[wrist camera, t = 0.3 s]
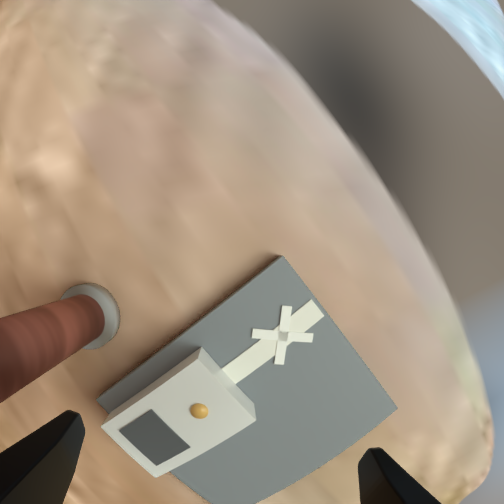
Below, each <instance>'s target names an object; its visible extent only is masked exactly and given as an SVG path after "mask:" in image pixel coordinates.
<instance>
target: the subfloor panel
mask: <svg viewBox="0 0 504 504" xmlns="http://www.w3.org/2000/svg"><path fill="white" fill-rule="evenodd" d="M201 347H203V349H204V350H205V351H206V352H207V353H208V354H209V355H210V357H211V358H212V359H213V360H214V361H215V362H216V363H217V364H218V366H219V367H220V368H221V369H222V370H223V371H224V372H225V373H226V374H227V375H228V377H229V378H230V379H231V380H232V381H233V382H234V383H235V384H236V385H237V386H238V387H239V388H240V389H241V391H242V392H243V393H244V394H245V395H246V396H247V397H248V398H249V399H250V400H251V401H252V402H253V403H254V407H255V414H256V421H255V422H253V423H252V424H250V425H249V426H247V427H246V428H244V429H242V430H241V431H239V432H238V433H236V434H234V435H233V436H231V437H230V438H228V439H226V440H225V441H223V442H221V443H220V444H218V445H216V446H215V447H213V448H211V449H209V450H208V451H206V452H204V453H202V454H201V455H199V456H197V457H195V458H193V459H192V460H190V461H188V462H186V463H184V464H182V465H180V466H178V467H176V468H175V469H173V470H171V471H169V472H171V473H172V474H173V475H174V476H176V477H177V478H178V479H179V480H181V481H182V482H183V483H184V484H186V485H187V486H188V487H190V488H191V489H192V490H193V491H195V492H196V493H197V494H199V495H200V496H202V497H203V498H204V499H206V500H207V501H209V502H210V503H211V504H255V503H257V502H259V501H261V500H263V499H265V498H267V497H269V496H271V495H273V494H275V493H277V492H279V491H280V490H282V489H284V488H286V487H288V486H289V485H291V484H293V483H295V482H296V481H298V480H300V479H301V478H303V477H305V476H306V475H308V474H310V473H311V472H313V471H314V470H316V469H318V468H319V467H321V466H322V465H324V464H325V463H327V462H328V461H330V460H331V459H333V458H334V457H336V456H337V455H339V454H340V453H341V452H343V451H344V450H346V449H347V448H348V447H350V446H351V445H353V444H354V443H355V442H357V441H358V440H359V439H361V438H362V437H363V436H365V435H366V434H367V433H368V432H370V431H371V430H372V429H373V428H375V427H376V426H377V425H378V424H380V423H381V422H382V421H383V420H385V419H386V418H387V417H388V416H389V415H391V414H392V413H393V412H394V411H395V410H396V409H397V406H396V405H395V403H394V402H393V401H392V399H391V398H390V397H389V395H388V394H387V392H386V391H385V390H384V388H383V387H382V386H381V384H380V383H379V382H378V380H377V379H376V377H375V376H374V375H373V373H372V372H371V371H370V369H369V368H368V367H367V365H366V364H365V363H364V361H363V360H362V359H361V357H360V356H359V355H358V353H357V352H356V351H355V349H354V348H353V347H352V345H351V344H350V343H349V341H348V340H347V339H346V337H345V336H344V335H343V333H342V332H341V331H340V329H339V328H338V327H337V325H336V324H335V323H334V321H333V320H332V319H331V317H330V316H329V315H328V313H327V312H326V311H325V309H324V308H323V307H322V306H321V304H320V303H319V302H318V300H317V299H316V298H315V296H314V295H313V294H312V292H311V291H310V290H309V289H308V287H307V286H306V285H305V283H304V282H303V281H302V279H301V278H300V277H299V276H298V274H297V273H296V272H295V270H294V269H293V268H292V267H291V265H290V264H289V263H288V261H287V260H286V259H285V258H284V256H282V255H280V256H279V257H278V258H277V259H275V260H274V261H273V262H272V263H270V264H269V265H268V266H267V267H265V268H264V269H263V270H262V271H260V272H259V273H258V274H257V275H255V276H254V277H253V278H252V279H250V280H249V281H248V282H246V283H245V284H244V285H243V286H241V287H240V288H239V289H238V290H236V291H235V292H234V293H233V294H231V295H230V296H229V297H227V298H226V299H225V300H224V301H222V302H221V303H220V304H219V305H217V306H216V307H215V308H213V309H212V310H211V311H210V312H208V313H207V314H206V315H204V316H203V317H202V318H201V319H199V320H198V321H197V322H195V323H194V324H193V325H192V326H190V327H189V328H188V329H186V330H185V331H184V332H183V333H181V334H180V335H179V336H177V337H176V338H175V339H173V340H172V341H171V342H170V343H168V344H167V345H166V346H164V347H163V348H162V349H160V350H159V351H158V352H156V353H155V354H154V355H153V356H151V357H150V358H149V359H147V360H146V361H145V362H143V363H142V364H141V365H139V366H138V367H137V368H135V369H134V370H133V371H131V372H130V373H129V374H127V375H126V376H125V377H123V378H122V379H121V380H119V381H118V382H117V383H115V384H114V385H113V386H111V387H110V388H109V389H107V390H106V391H105V392H103V393H102V394H101V395H100V396H99V397H98V398H97V399H96V400H97V402H98V403H99V404H100V405H101V406H102V407H103V408H104V409H105V410H106V412H107V413H108V414H110V413H111V411H113V410H114V409H116V408H117V407H119V406H120V405H122V404H123V403H124V402H126V401H127V400H129V399H130V398H132V397H133V396H134V395H136V394H137V393H139V392H140V391H142V390H143V389H144V388H146V387H147V386H149V385H150V384H151V383H153V382H154V381H156V380H157V379H158V378H160V377H161V376H162V375H164V374H165V373H167V372H168V371H169V370H171V369H172V368H173V367H175V366H176V365H178V364H179V363H180V362H182V361H183V360H184V359H186V358H187V357H188V356H190V355H191V354H192V353H194V352H195V351H197V350H198V349H199V348H201Z"/></svg>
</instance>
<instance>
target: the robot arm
mask: <svg viewBox="0 0 504 504" xmlns="http://www.w3.org/2000/svg"><path fill="white" fill-rule="evenodd" d="M84 436H85V428H84V424H83V421H82V418H81V415H80V414H79V413H77V412H74V411H71V410H67V411H65V412H63V413H62V414H60V415H59V416H57V417H56V418H54V419H53V420H51V421H50V422H48V423H47V424H45V425H43V426H42V427H40V428H39V429H37V430H36V431H34V432H33V433H31V434H30V435H28V436H26V437H25V438H23V439H22V440H20V441H19V442H17V443H15V444H14V445H12V446H11V447H9V448H7V449H6V450H4V451H3V452H1V453H0V504H63V501H64V498H65V496H66V493H67V490H68V488H69V485H70V483H71V480H72V478H73V475H74V472H75V469H76V465H77V461H78V458H79V454H80V450H81V447H82V443H83V439H84ZM358 475H359V489H360V502H361V504H441V503H440V502H439V501H438V500H437V499H436V498H435V497H433V496H432V495H431V494H430V493H429V492H428V491H427V490H426V489H425V488H423V487H422V486H421V485H420V484H419V483H418V482H417V481H416V480H415V479H414V478H413V477H412V476H410V475H409V474H408V473H407V472H406V471H405V470H404V469H403V468H402V467H401V466H400V465H399V464H398V463H397V462H396V461H394V460H393V459H392V458H391V457H390V456H389V455H388V454H387V453H386V452H385V451H384V450H383V449H382V448H380V447H377V448H369V449H368V450H367V451H366V452H365V454H364V455H363V457H362V458H361V460H360V461H359V463H358Z"/></svg>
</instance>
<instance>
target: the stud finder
mask: <svg viewBox="0 0 504 504" xmlns="http://www.w3.org/2000/svg"><path fill="white" fill-rule="evenodd" d="M255 421H256V414H255V407H254V403H253V402H252V401H251V400H250V399H249V398H248V397H247V396H246V395H245V394H244V393H243V392H242V391H241V389H240V388H239V387H238V386H237V385H236V384H235V383H234V382H233V381H232V380H231V379H230V378H229V377H228V375H227V374H226V373H225V372H224V371H223V370H222V369H221V368H220V367H219V366H218V364H217V363H216V362H215V361H214V360H213V359H212V358H211V357H210V355H209V354H208V353H207V352H206V351H205V350H204V349H203V347H201V348H199V349H198V350H197V351H195V352H194V353H192V354H191V355H190V356H188V357H187V358H186V359H184V360H183V361H182V362H180V363H179V364H178V365H176V366H175V367H173V368H172V369H171V370H169V371H168V372H167V373H165V374H164V375H162V376H161V377H160V378H158V379H157V380H156V381H154V382H153V383H151V384H150V385H149V386H147V387H146V388H144V389H143V390H142V391H140V392H139V393H137V394H136V395H134V396H133V397H132V398H130V399H129V400H127V401H126V402H124V403H123V404H122V405H120V406H119V407H117V408H116V409H114V410H113V411H111V413H110V414H109V415H108V417H107V418H106V420H105V421H104V422H103V424H102V425H101V426H100V427H101V428H102V429H103V430H104V431H105V432H106V433H107V434H108V435H109V436H110V437H111V438H112V439H113V440H114V441H115V442H116V443H117V444H118V445H119V446H120V447H121V448H122V449H123V450H125V451H126V452H127V453H128V454H129V455H130V456H131V457H132V458H133V459H134V460H135V461H137V462H138V463H139V464H140V465H141V466H142V467H143V468H144V469H146V470H147V471H148V472H149V473H150V474H152V475H153V476H154V477H155V478H157V477H159V476H161V475H163V474H165V473H167V472H169V471H171V470H173V469H175V468H176V467H178V466H180V465H182V464H184V463H186V462H188V461H190V460H192V459H193V458H195V457H197V456H199V455H201V454H202V453H204V452H206V451H208V450H209V449H211V448H213V447H215V446H216V445H218V444H220V443H221V442H223V441H225V440H226V439H228V438H230V437H231V436H233V435H234V434H236V433H238V432H239V431H241V430H242V429H244V428H246V427H247V426H249V425H250V424H252V423H253V422H255Z"/></svg>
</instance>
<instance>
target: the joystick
mask: <svg viewBox="0 0 504 504" xmlns="http://www.w3.org/2000/svg"><path fill="white" fill-rule="evenodd" d="M119 325H120V312H119V308H118V305H117V302H116V301H115V299H114V297H113V296H112V295H111V293H110V292H109V291H108V290H106V289H105V288H104V287H102V286H100V285H98V284H94V283H86V284H81V285H77V286H74V287H71V288H70V289H68V290H67V291H66V292H65V293H64V294H63V296H62V298H61V300H59V301H56V302H52V303H49V304H46V305H42V306H39V307H36V308H32V309H29V310H26V311H22V312H19V313H16V314H12V315H9V316H6V317H2V318H0V403H1V402H3V401H4V400H6V399H7V398H8V397H10V396H11V395H13V394H14V393H16V392H17V391H19V390H20V389H22V388H23V387H25V386H26V385H28V384H29V383H31V382H32V381H34V380H35V379H37V378H38V377H40V376H41V375H43V374H44V373H46V372H47V371H49V370H50V369H52V368H53V367H55V366H56V365H57V364H59V363H60V362H62V361H63V360H65V359H66V358H68V357H70V356H71V355H73V354H74V353H76V352H77V351H79V350H80V349H82V348H84V349H97V348H99V347H101V346H103V345H104V344H106V343H107V342H108V341H110V340H111V339H112V338H113V337H114V336H115V335H116V333H117V331H118V328H119Z"/></svg>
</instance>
